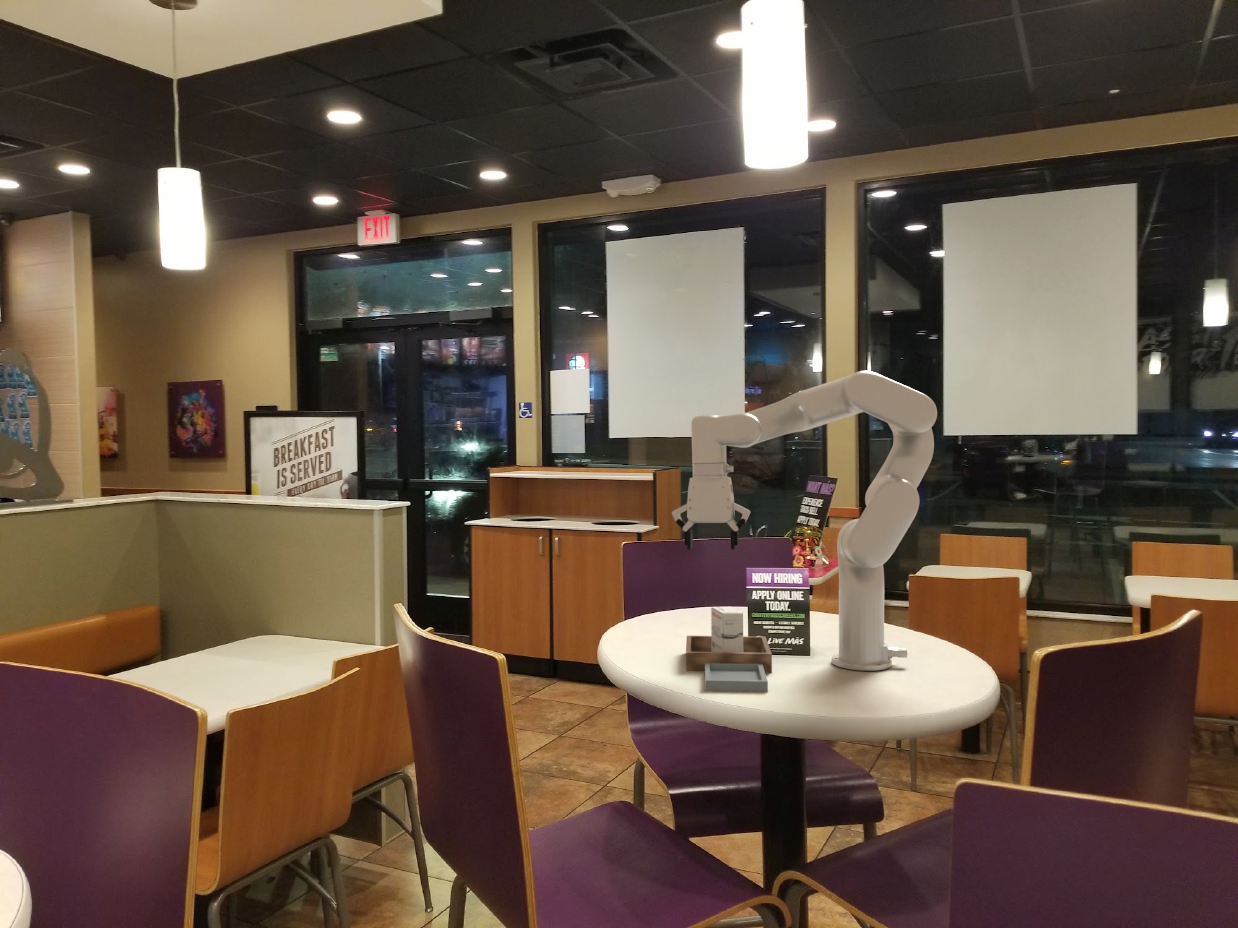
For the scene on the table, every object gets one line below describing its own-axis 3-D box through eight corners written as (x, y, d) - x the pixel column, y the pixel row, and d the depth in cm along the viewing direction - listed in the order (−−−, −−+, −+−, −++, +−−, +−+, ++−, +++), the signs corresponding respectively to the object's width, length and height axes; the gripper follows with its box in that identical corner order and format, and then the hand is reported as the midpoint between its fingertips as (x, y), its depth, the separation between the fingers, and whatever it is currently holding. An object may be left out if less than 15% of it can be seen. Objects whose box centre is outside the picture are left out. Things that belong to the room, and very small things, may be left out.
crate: (765, 653, 201) (765, 636, 200) (771, 672, 184) (771, 653, 184) (686, 652, 202) (686, 635, 202) (685, 671, 185) (685, 652, 185)
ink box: (744, 666, 189) (744, 612, 189) (722, 667, 188) (722, 613, 188) (731, 657, 198) (731, 605, 197) (710, 658, 197) (710, 606, 196)
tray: (762, 673, 183) (762, 663, 183) (767, 691, 169) (767, 681, 169) (704, 672, 184) (704, 662, 184) (705, 690, 170) (705, 680, 170)
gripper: (750, 470, 194) (752, 547, 194) (674, 471, 198) (676, 546, 199) (747, 471, 187) (749, 551, 187) (667, 472, 191) (669, 550, 191)
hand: (711, 548), depth 193 cm, fingers open, 9 cm apart
